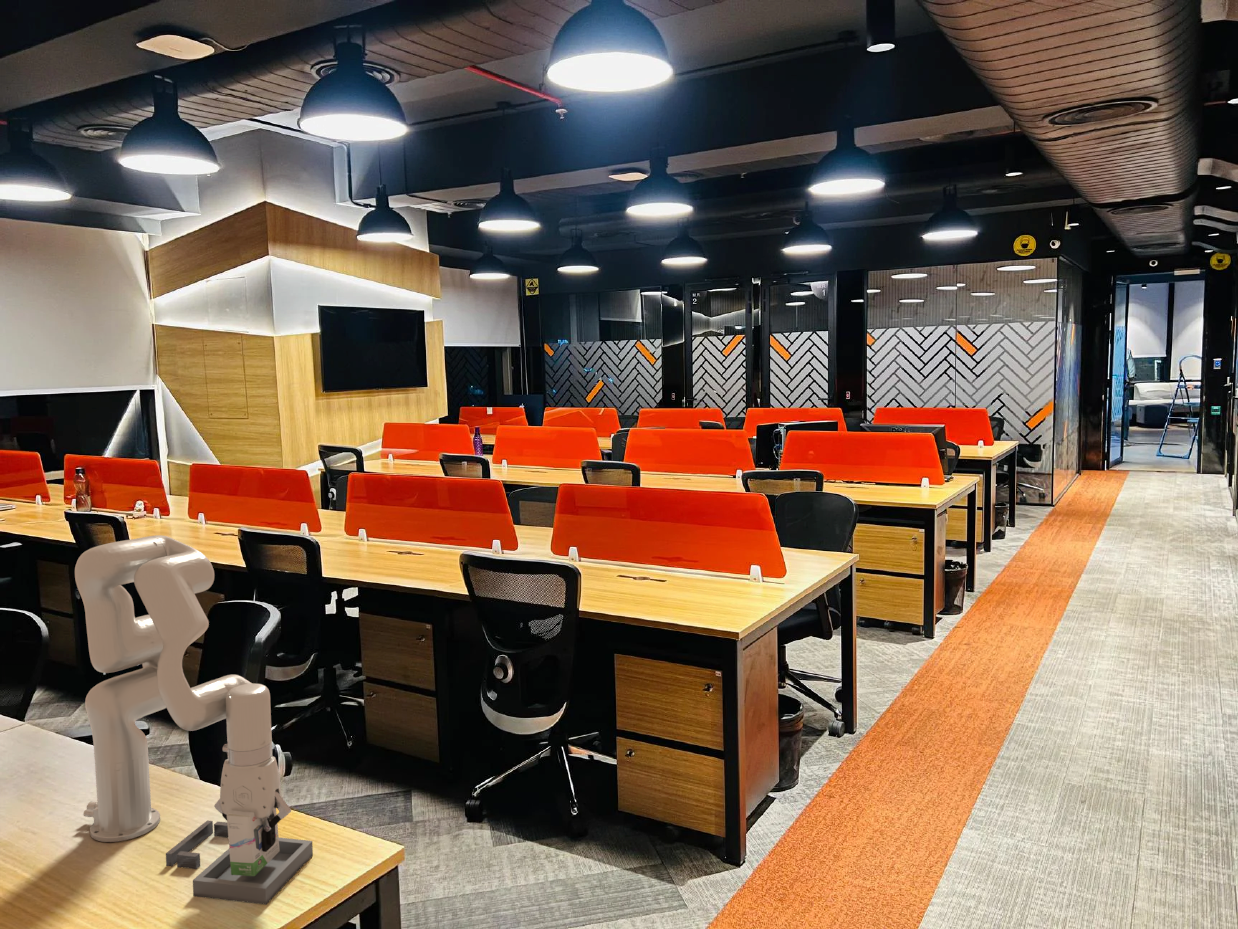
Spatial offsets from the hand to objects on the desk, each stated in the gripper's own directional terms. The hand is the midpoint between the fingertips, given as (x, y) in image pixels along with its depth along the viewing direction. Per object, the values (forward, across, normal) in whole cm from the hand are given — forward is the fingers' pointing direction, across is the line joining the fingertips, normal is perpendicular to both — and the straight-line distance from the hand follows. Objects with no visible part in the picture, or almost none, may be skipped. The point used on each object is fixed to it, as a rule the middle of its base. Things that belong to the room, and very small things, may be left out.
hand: (254, 845), depth 166 cm
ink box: (+4, 0, 0) cm, 4 cm away
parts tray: (+6, 0, 0) cm, 6 cm away
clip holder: (+6, -15, +6) cm, 17 cm away
